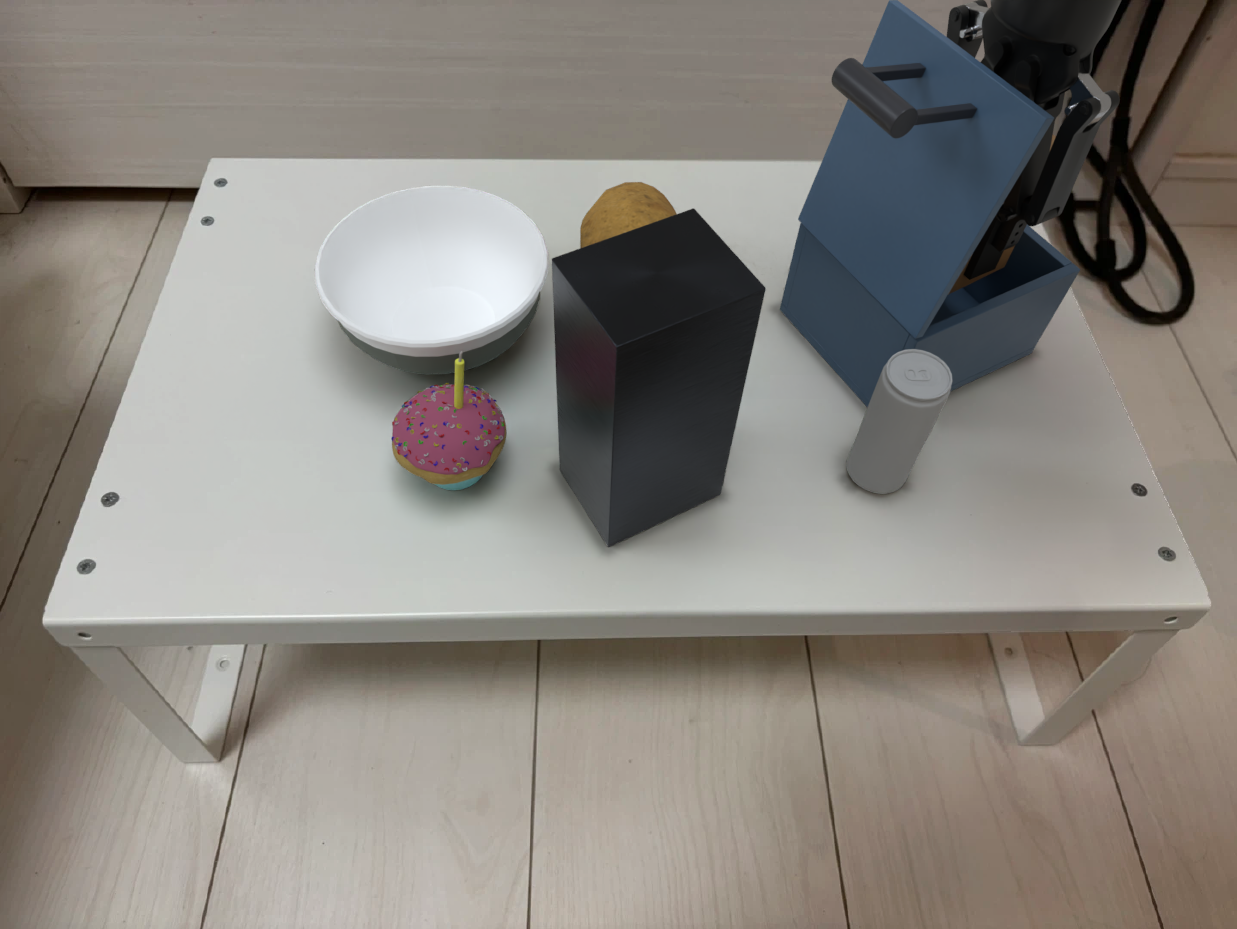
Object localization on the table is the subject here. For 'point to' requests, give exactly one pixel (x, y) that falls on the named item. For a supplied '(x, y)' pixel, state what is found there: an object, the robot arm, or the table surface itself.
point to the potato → (623, 211)
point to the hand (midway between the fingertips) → (950, 245)
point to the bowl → (433, 277)
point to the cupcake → (449, 433)
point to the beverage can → (898, 420)
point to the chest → (959, 333)
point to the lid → (917, 164)
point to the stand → (650, 369)
